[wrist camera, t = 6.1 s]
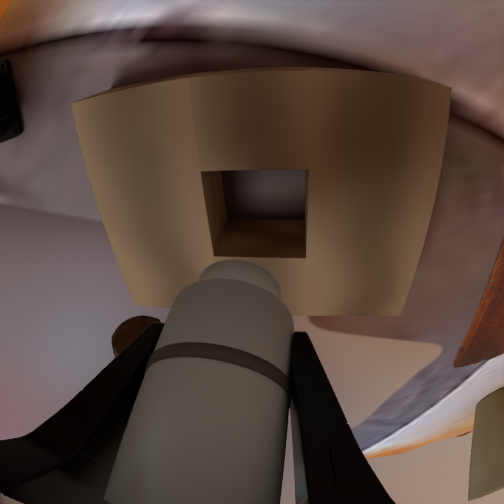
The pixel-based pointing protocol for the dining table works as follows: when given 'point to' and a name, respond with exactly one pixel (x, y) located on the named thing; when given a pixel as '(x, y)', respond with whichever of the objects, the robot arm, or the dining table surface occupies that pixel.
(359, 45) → the dining table surface
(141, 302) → the board
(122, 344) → the bolt
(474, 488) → the plant pot
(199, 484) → the peg
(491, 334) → the wooden tablet
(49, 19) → the dining table surface
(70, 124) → the dining table surface
